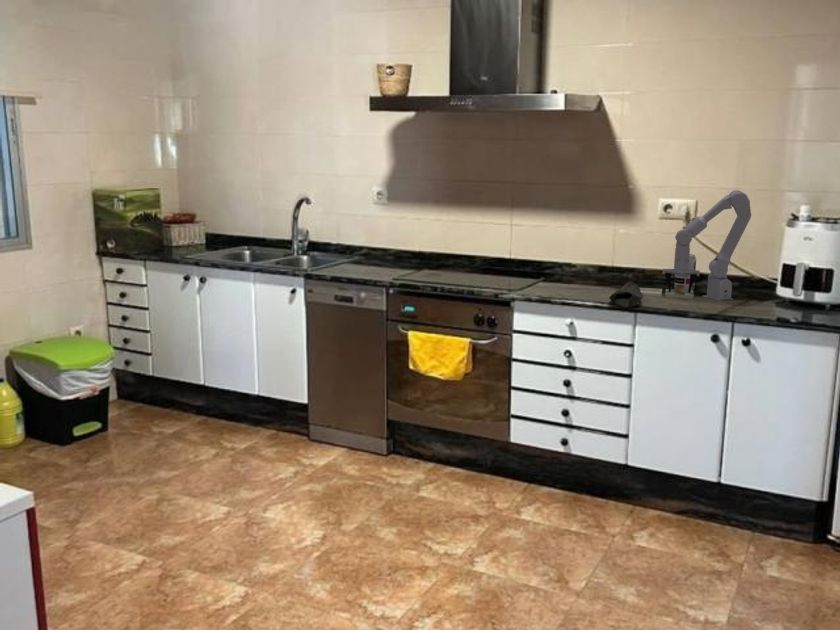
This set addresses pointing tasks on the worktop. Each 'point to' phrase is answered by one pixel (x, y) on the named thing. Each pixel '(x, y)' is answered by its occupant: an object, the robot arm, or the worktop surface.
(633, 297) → the dark grey rubber slipper
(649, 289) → the white tray
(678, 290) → the letter cube
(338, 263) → the worktop surface
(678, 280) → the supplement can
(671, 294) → the sage tray
